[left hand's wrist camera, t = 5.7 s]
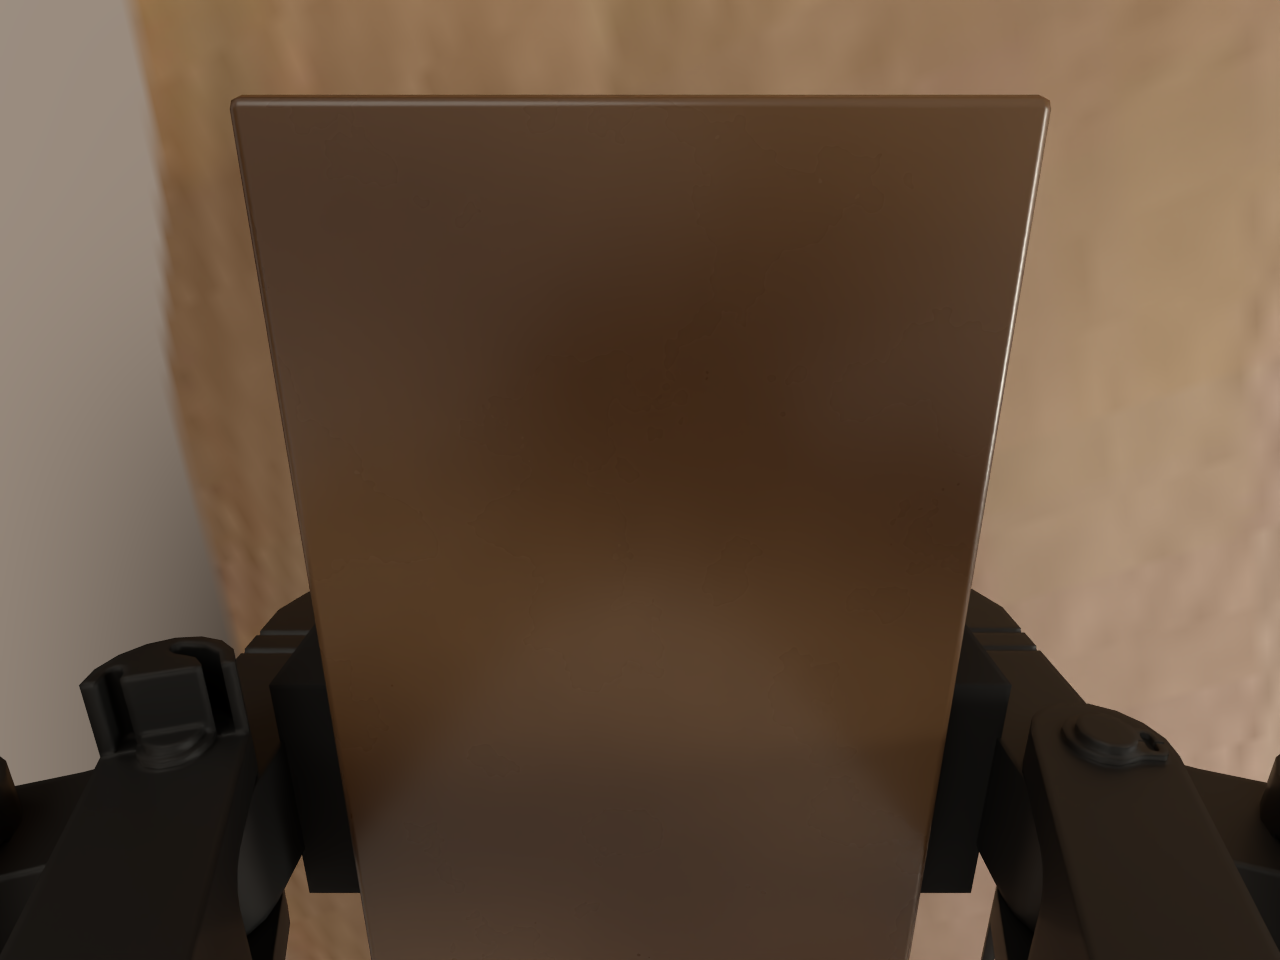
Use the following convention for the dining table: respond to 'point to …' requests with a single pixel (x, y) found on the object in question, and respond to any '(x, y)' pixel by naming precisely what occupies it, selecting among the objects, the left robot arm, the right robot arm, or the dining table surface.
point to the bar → (640, 497)
